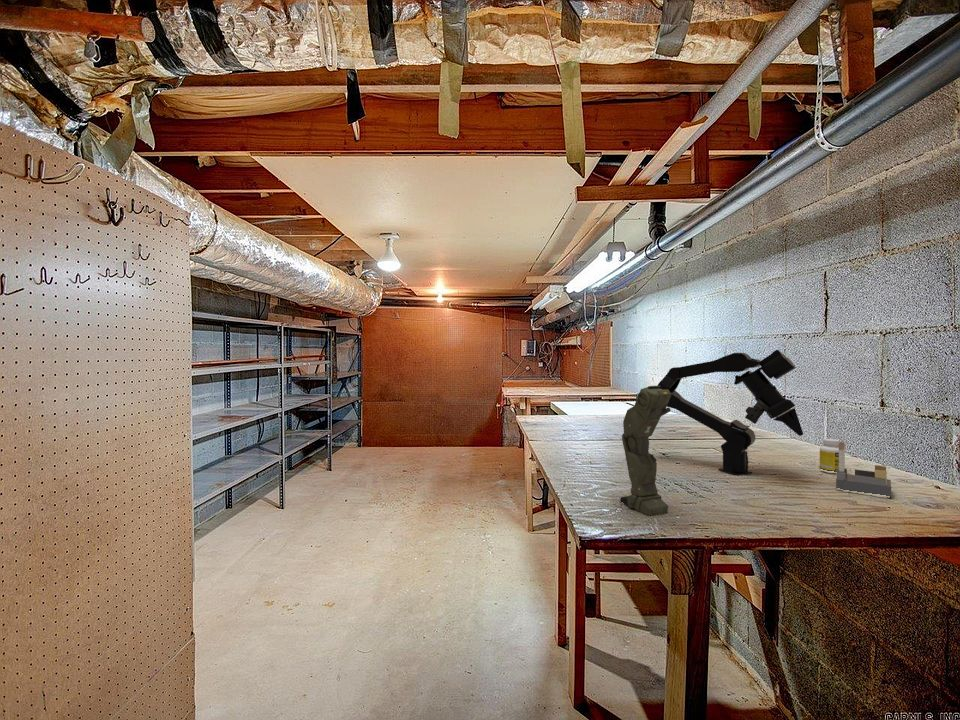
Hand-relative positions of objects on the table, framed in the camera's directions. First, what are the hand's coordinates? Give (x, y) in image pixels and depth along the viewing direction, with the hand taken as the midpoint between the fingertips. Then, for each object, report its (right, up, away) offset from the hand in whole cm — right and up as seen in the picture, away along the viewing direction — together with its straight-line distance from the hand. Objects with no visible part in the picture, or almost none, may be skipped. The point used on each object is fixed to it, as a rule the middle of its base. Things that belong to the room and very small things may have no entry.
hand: (801, 435), depth 122 cm
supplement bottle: (+16, -13, +10) cm, 23 cm away
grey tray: (+10, -13, -8) cm, 18 cm away
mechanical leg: (-51, -14, -19) cm, 56 cm away
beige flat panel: (+6, -9, -6) cm, 13 cm away
